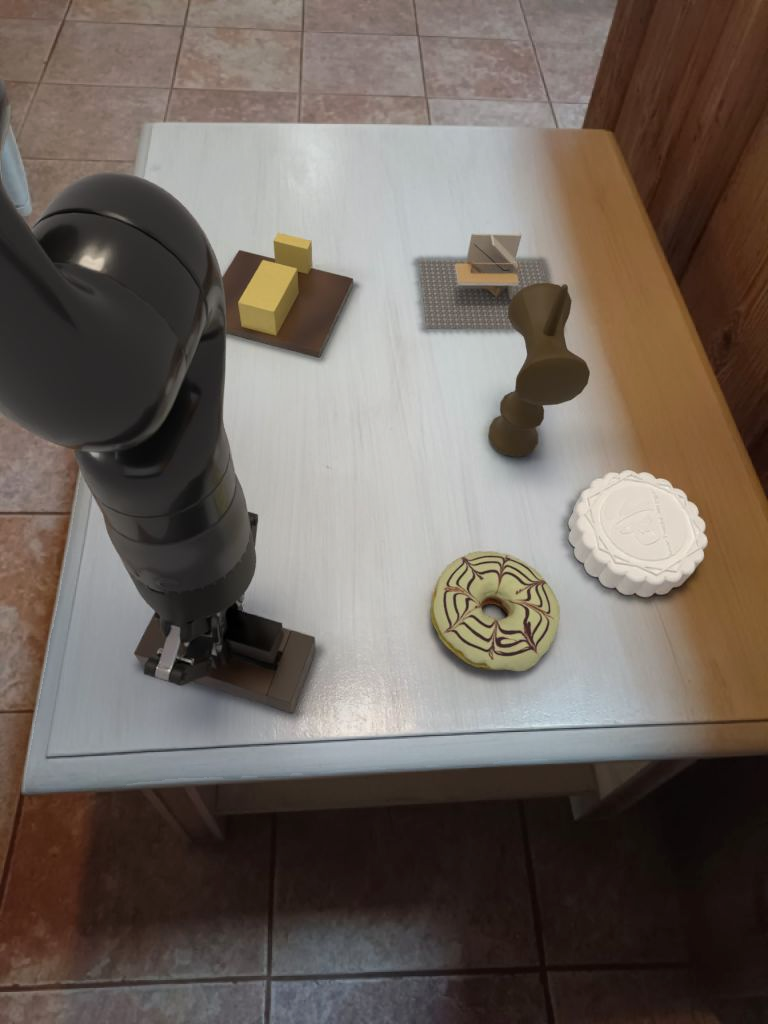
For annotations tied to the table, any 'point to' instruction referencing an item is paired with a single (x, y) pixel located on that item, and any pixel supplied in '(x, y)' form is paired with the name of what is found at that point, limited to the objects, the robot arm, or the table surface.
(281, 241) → the butter slice
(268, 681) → the stand
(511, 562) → the decorated donut
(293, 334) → the butter board
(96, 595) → the table surface
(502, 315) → the architectural model
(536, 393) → the kendama
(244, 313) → the butter block
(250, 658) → the bench knife
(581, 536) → the mooncake
